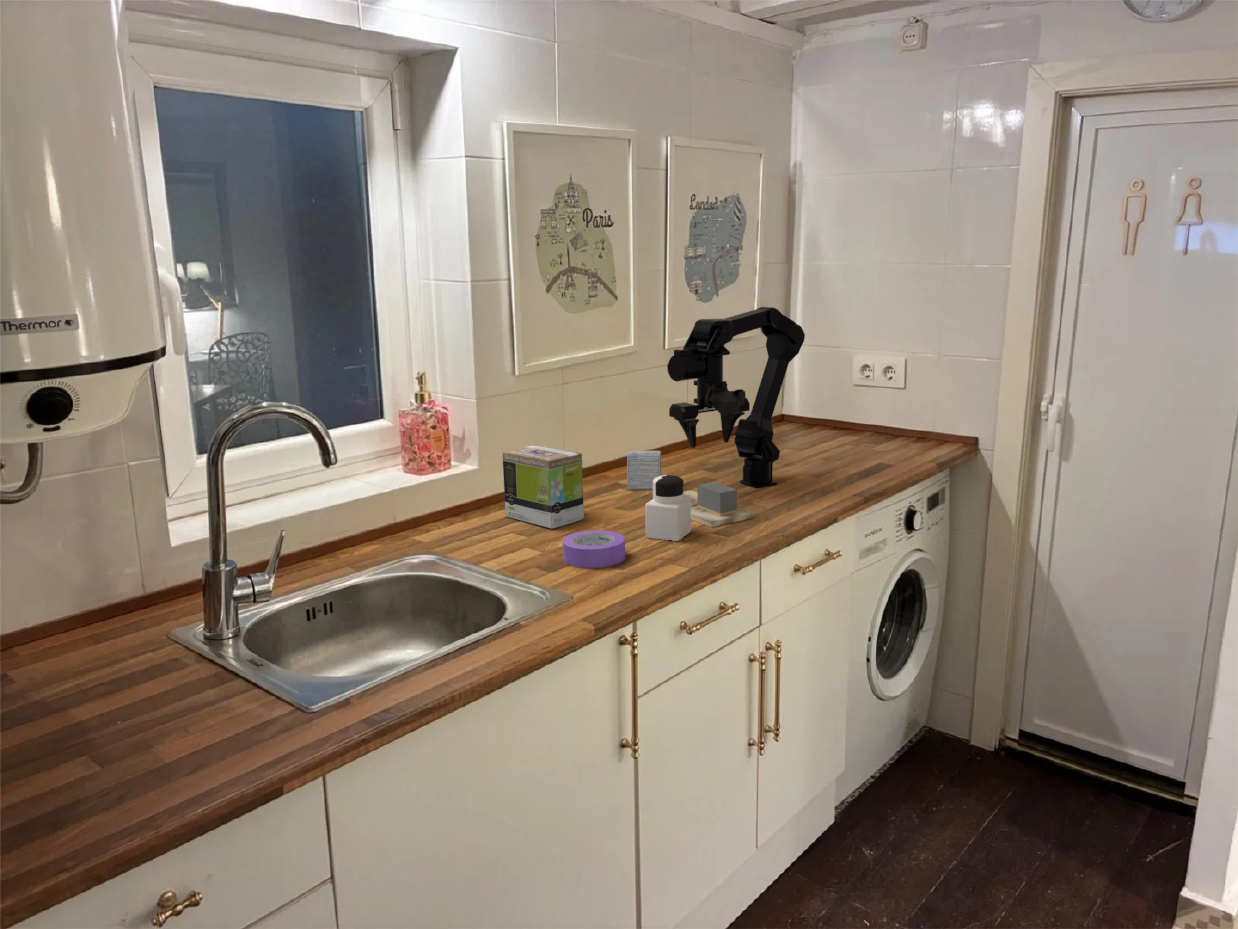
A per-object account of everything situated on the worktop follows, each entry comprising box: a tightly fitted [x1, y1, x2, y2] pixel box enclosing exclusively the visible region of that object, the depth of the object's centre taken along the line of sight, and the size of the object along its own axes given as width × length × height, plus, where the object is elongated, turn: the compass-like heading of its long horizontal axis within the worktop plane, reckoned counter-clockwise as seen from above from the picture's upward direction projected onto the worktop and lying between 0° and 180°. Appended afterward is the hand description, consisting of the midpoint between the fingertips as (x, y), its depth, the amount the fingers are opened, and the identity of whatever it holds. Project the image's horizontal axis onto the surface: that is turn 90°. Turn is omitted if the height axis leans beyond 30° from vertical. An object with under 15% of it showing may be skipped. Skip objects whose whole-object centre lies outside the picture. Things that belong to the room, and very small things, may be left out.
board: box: [651, 490, 754, 528], centre depth 205 cm, size 11×22×1 cm, turn 32°
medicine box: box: [626, 450, 662, 491], centre depth 223 cm, size 8×4×9 cm, turn 84°
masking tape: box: [561, 530, 626, 569], centre depth 176 cm, size 12×12×4 cm
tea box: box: [502, 444, 585, 529], centre depth 200 cm, size 15×10×15 cm
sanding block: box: [697, 481, 738, 516], centre depth 200 cm, size 4×8×5 cm, turn 31°
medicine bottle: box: [644, 474, 692, 542], centre depth 187 cm, size 7×7×12 cm
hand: (709, 445), depth 213 cm, fingers open, 9 cm apart
